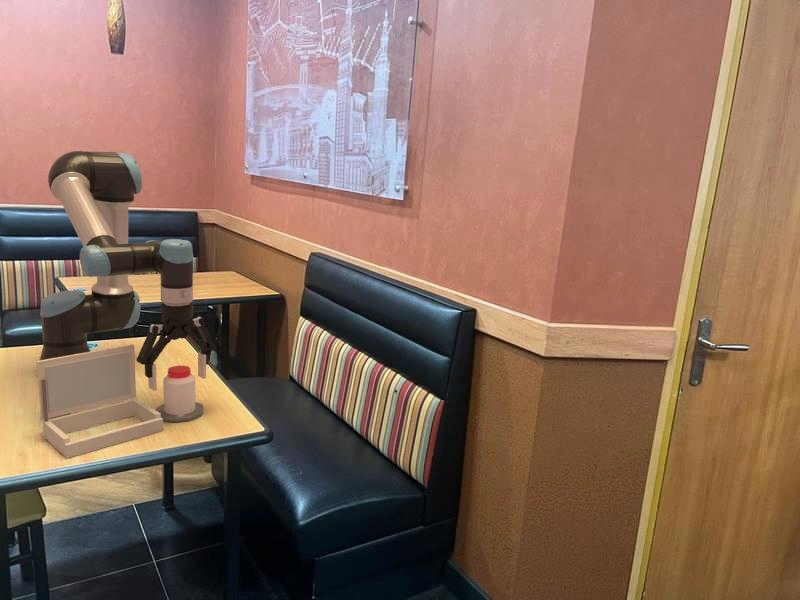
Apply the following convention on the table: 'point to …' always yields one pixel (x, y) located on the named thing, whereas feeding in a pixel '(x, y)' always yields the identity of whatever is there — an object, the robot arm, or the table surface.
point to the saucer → (181, 418)
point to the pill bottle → (179, 391)
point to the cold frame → (92, 399)
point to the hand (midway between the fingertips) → (178, 382)
